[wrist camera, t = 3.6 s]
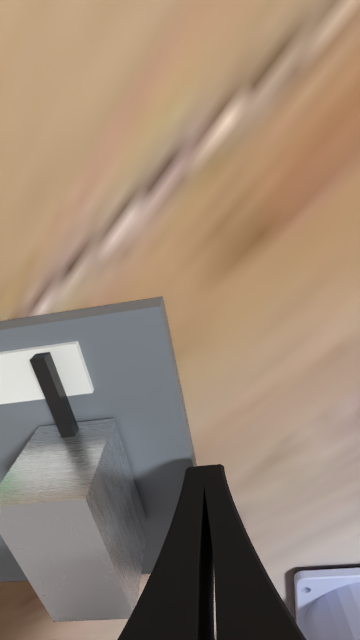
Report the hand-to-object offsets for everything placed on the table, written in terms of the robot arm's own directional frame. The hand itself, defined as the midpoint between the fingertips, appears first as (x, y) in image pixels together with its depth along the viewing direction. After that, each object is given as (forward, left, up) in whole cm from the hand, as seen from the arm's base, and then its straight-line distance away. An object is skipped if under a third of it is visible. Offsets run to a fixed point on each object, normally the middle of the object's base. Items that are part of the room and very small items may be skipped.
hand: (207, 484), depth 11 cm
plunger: (+2, +5, -1) cm, 5 cm away
